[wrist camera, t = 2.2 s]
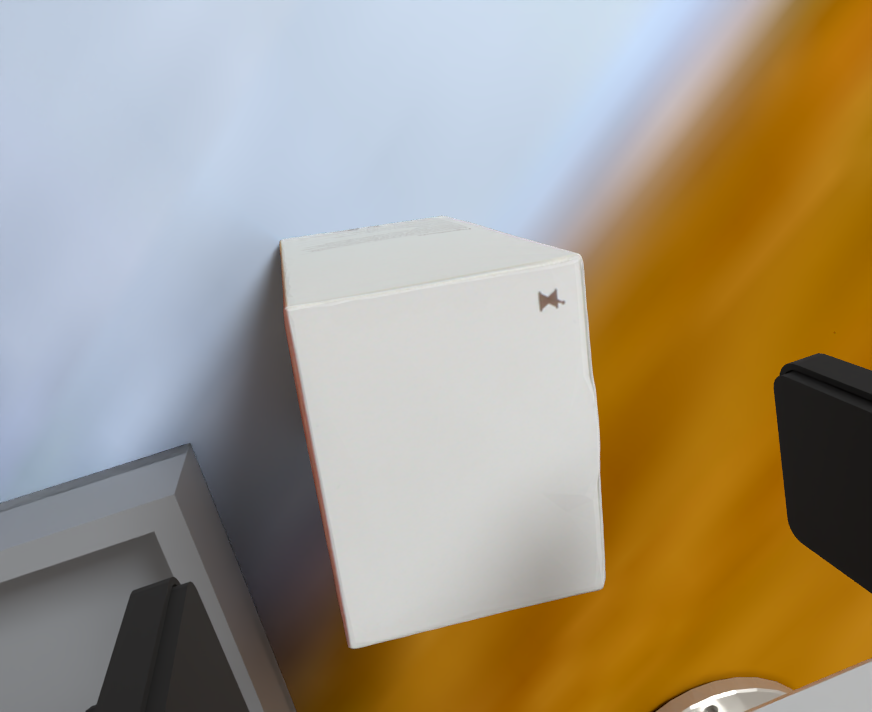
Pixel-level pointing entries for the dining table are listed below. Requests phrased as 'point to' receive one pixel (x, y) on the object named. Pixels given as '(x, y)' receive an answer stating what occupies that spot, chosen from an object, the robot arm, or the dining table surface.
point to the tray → (117, 581)
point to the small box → (446, 420)
